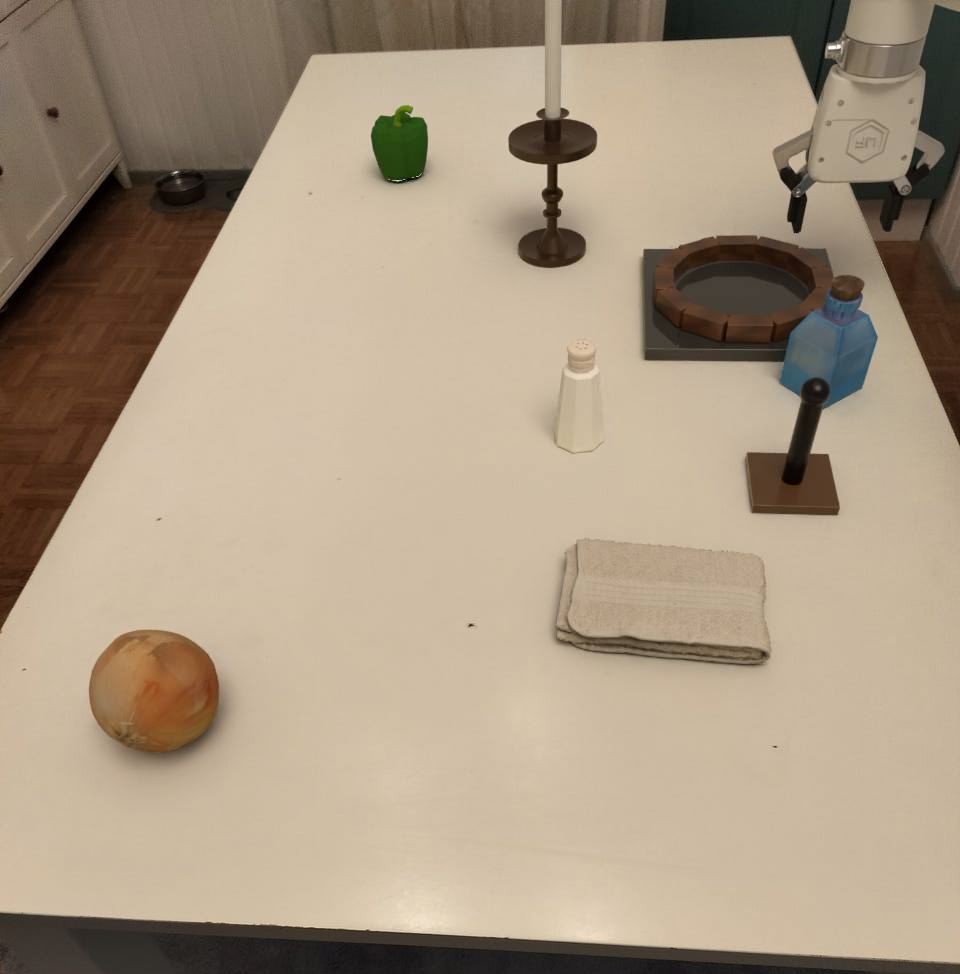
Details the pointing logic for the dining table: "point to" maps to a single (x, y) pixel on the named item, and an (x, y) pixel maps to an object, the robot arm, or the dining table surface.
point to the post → (796, 465)
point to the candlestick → (552, 155)
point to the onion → (154, 690)
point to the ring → (739, 250)
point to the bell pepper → (400, 144)
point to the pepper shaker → (580, 401)
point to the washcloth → (664, 602)
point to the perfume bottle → (832, 343)
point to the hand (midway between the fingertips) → (839, 226)
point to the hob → (721, 307)
